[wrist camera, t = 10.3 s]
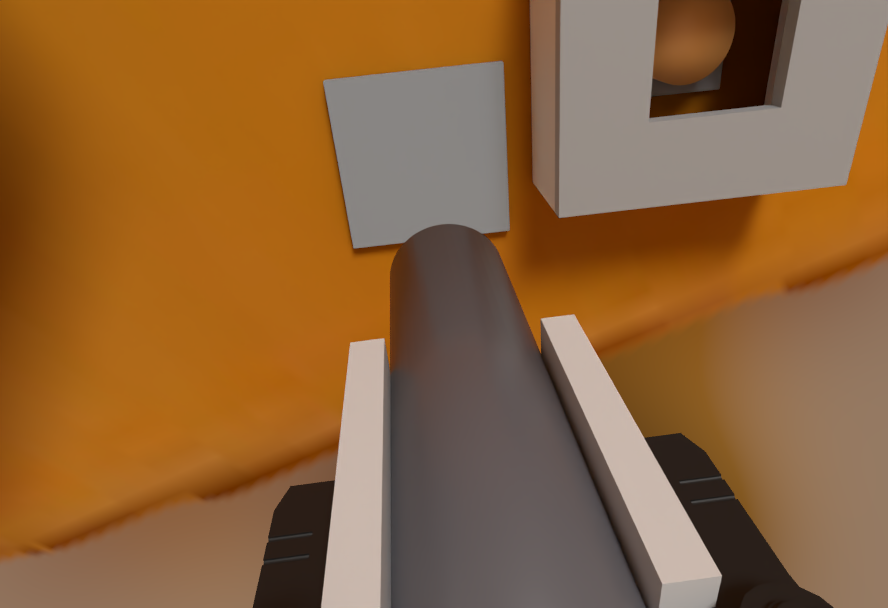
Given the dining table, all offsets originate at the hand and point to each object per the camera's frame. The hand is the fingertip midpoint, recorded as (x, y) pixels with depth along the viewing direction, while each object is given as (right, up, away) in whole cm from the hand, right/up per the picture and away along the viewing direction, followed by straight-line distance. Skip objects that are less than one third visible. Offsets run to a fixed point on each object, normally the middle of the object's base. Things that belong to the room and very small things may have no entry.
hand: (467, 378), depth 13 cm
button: (+11, +15, +15) cm, 24 cm away
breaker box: (+11, +16, +16) cm, 25 cm away
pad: (-2, +10, +18) cm, 20 cm away
